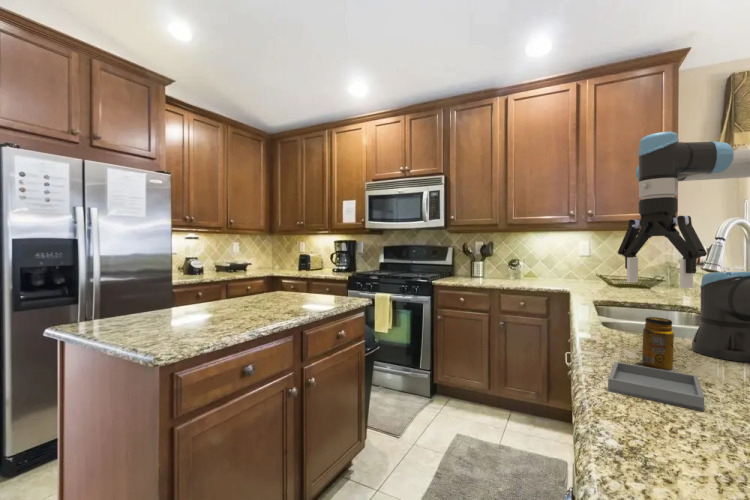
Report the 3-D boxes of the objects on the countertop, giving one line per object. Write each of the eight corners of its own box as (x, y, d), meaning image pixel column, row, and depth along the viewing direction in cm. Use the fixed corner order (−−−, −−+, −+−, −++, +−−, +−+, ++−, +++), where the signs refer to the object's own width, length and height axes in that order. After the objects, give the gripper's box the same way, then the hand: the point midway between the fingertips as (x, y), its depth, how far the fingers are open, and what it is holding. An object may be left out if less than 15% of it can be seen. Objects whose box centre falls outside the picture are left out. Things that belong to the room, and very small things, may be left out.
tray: (614, 372, 86) (615, 361, 86) (697, 387, 77) (697, 375, 77) (607, 390, 74) (608, 378, 74) (703, 411, 65) (704, 397, 65)
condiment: (679, 368, 89) (681, 320, 89) (666, 374, 85) (667, 323, 85) (645, 360, 95) (646, 315, 95) (630, 366, 91) (631, 318, 91)
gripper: (602, 203, 100) (602, 280, 101) (700, 189, 76) (700, 291, 76) (625, 204, 102) (625, 279, 102) (728, 190, 77) (728, 290, 78)
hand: (657, 285), depth 89 cm, fingers open, 13 cm apart
